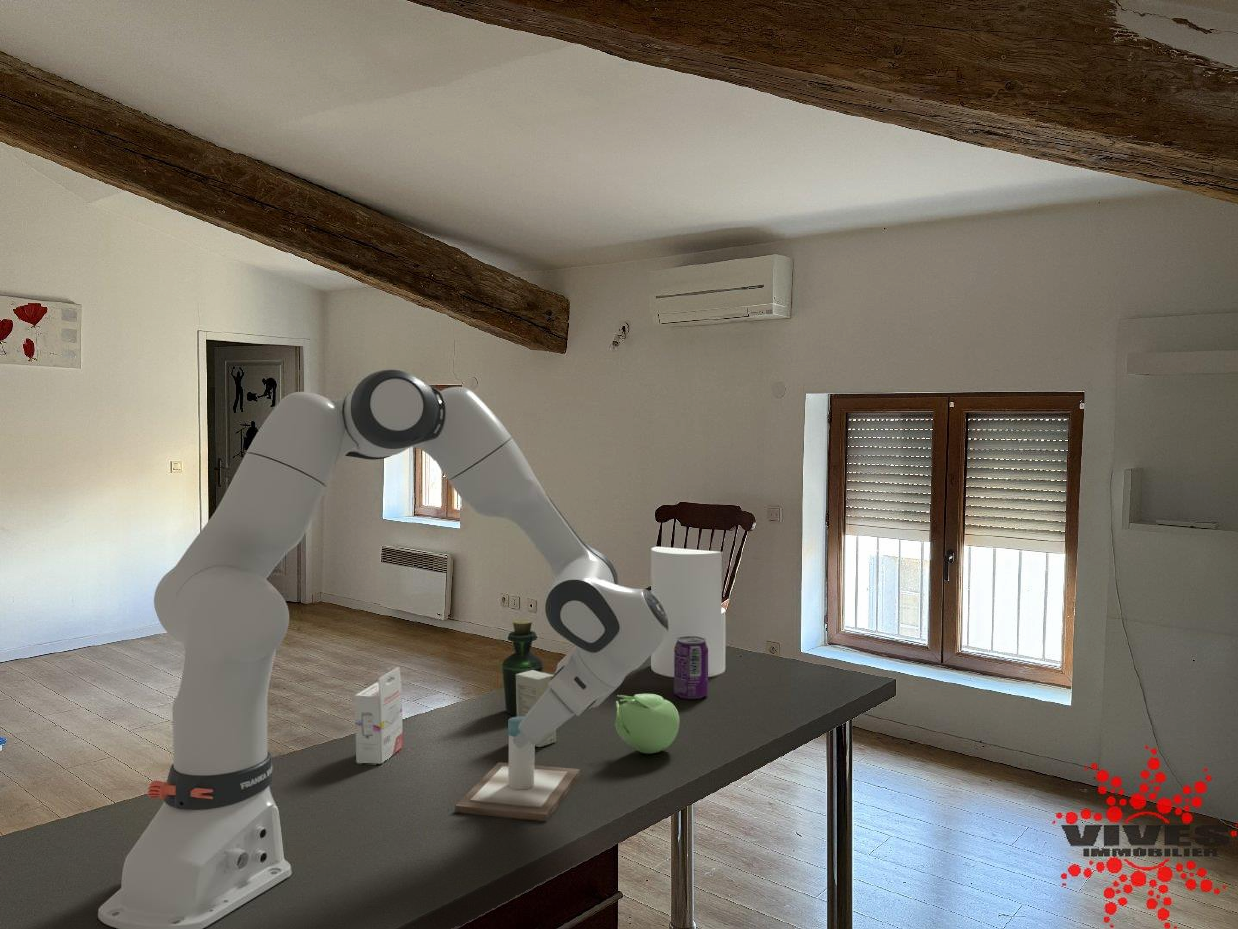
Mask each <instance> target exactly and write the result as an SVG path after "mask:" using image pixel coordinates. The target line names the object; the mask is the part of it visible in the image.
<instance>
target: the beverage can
mask: <svg viewBox="0 0 1238 929" xmlns="http://www.w3.org/2000/svg"><path fill="white" fill-rule="evenodd" d="M673 680H674V681H673V682H674V683H673V685H674V686H673V690H674V691H673V693H674V694H675V695H677V696H678V697H680V698H681V699H685V700H699V699H702V698H703V697H706V696H707V695H709V677H708V647H707V644H706V639H705V638H702V637H697V636H683V637H679V638H677V643H676V645H675V647H674V677H673Z"/></svg>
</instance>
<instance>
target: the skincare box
mask: <svg viewBox="0 0 1238 929" xmlns="http://www.w3.org/2000/svg"><path fill="white" fill-rule="evenodd" d="M554 675H555V674H551V673H548V672H539V671H535V670H531V671H527V672H523V673H519V674H516V705H517V716H516V717H519V716H526V715H527V713H528V712H529V711H530V710H531V709H532V707H533V706H534V705H535V704H536V702H537V701H538V700H539V699H540V698H541V696H542V695H543V694H544V693H545V691H546V690H547V689H548V688H549V685H548V683H549V682H550V681H551V679H552V678H553V676H554ZM555 742H557V729H555V730H554V731H553V732H552V733H550V734H549V735H548V736H546V737H545V738H544V739H542V740H541V741H539V742H538V743H536V744H535V747H538V748H541V747H544V746H548V745H550V744H554V743H555Z"/></svg>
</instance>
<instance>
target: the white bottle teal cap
mask: <svg viewBox="0 0 1238 929" xmlns="http://www.w3.org/2000/svg"><path fill="white" fill-rule="evenodd" d="M524 717H525V716H519V717H517V716H514V717H510V718H509V719H508V722H507V723H508V724H507V725H508V726H507V728H508V730H507V731H508V762H507V763H508V786H509V787H510V788H513V789H528V788H531V787H533V786H534V765H535V762H536V760H535V759H536V758H535V756H536V755H535V752H536V749H535V748H536V746H535V744H531V743H530V742H529V741H528V742H527V743H526V744H525V745H524V746H523V747H522V748H518V747H517V746H516V745H515V744H514V743H513V739H514V738H515V737H516V736H517V735H518V734H519V733H520V731H519V729H518V726H519V724H520V723H521V721H522V720H523V718H524Z"/></svg>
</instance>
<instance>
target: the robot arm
mask: <svg viewBox="0 0 1238 929" xmlns="http://www.w3.org/2000/svg"><path fill="white" fill-rule="evenodd" d="M251 441H252V442H250V443H251V444H250V445H249V447H248V449H247V451H246V453H245V454H244V457H243V458H242V460H241V462H240V464H239V466H238V468H237V470H236V472H235V474H234V476H233V478H232V480H231V482H230V484H229V485H228V488H227V489H226V490H225V493H224V495H223V497H222V498H221V501H220V502H219V504H218V506H217V508H216V509H215V511H214V513H212V516H211V517H210V518H209V520H208V521H207V522H206V524H205V525H204V527H203V528H202V529H201V530H200V532H199V533H198V534H197V535H196V537H195V538H194V539H193V541H192V542H191V543H190V545H189V547H188V548H187V549H186V551H185V552H184V553H183V555H182V557H180V560H179V561H178V562H177V563H176V565H175V566H174V567H173V568H172V569H170V570H169V571H168V572H167V573H165V575H164V576H162V578H161V579H160V580H159V582H158V584H157V587H156V588H155V591H154V596H153V607H154V611H155V613H156V616H157V618H158V620H159V623H160V625H161V626H162V629H164V630H165V631H166V633H168V634H169V635H170V636H171V637H172V638H174V639H176V640H178V641H179V642H181V643H182V645H183V649H184V663H183V670H182V676H181V679H180V686H179V690H178V692H177V695H176V697H175V698H174V700H173V703H172V709H171V710H172V714H171V715H172V748H173V749H172V752H173V753H172V756H173V757H172V758H173V759H172V760H173V763H172V764H171V765H170V768H169V772H168V775H167V777H166V781H160V780H153V781H151V783H149V785H148V786H149V787H148V788H147V796H148V797H149V798H150V799H161V800H163V804H162V805H161V807H160V808H159V810H158V811H157V812H156V814H155V815H154V817H153V818H152V820H150V823H149V824H148V825H147V827H146V829H145V830H144V831H143V832H142V834H141V836H140V837H139V839H138V840H137V842H136V843H135V845H134V846H133V847H132V849H131V850H130V851H129V853H128V854H127V855H126V857H125V860H124V863H123V867H122V875H121V886H120V888H119V890H117V891H116V892H114V894H113V895H112V896H110V897H109V898H108V899H107V900H106V901H105V902H104V903H103V904H101V905H100V906H99V908H98V910H97V918H98V919H99V921H100V922H102V923H103V924H105V925H107V926H109V927H112V928H116V929H204V928H207V927H208V926H210V925H211V924H213V923H215V922H217V921H218V920H220V919H222V918H223V917H225V916H226V915H228V914H230V913H231V912H233V911H235V910H236V909H237V908H240V907H241V906H242V905H244V904H246V903H247V902H249V901H251V900H252V899H254V898H256V897H258V896H259V895H261V894H262V893H264V892H266V891H268V890H269V889H271V888H272V887H274V886H276V885H277V884H279V883H281V882H282V881H284V880H285V879H286V880H287V878H289V877H290V876H291V875H292V866H291V864H290V863H289V862H288V860H286V859H285V856H284V855H285V854H284V847H283V846H284V845H283V838H282V837H283V836H282V829H281V821H280V812H279V807H278V806H277V804H276V802H275V800H274V797H273V795H272V792H271V788H270V785H271V783H272V781H273V768H274V767H273V763H272V754H271V752H270V751H269V750H268V694H269V687H270V682H271V681H270V680H271V676H272V670H273V665H274V662H275V657H276V654H277V648H279V646H280V645H281V644H282V642H283V640H284V639H285V638H286V635H287V632H288V629H289V625H290V612H289V606H288V604H287V602H286V600H285V598H284V597H283V595H282V594H281V593H280V591H278V590H277V588H276V587H274V585H273V584H272V583H271V582H269V581H268V580H267V578H268V577H269V576H270V575H271V573H272V572H273V570H274V569H275V568H276V567H277V566H278V565H279V563H280V562H281V561H282V559H283V558H284V557H285V556H286V555H288V553H289V552H290V551H291V550H293V549H294V548H295V547H297V546H298V545H299V543H300V542H301V541H302V540H303V539H304V538H303V537H304V536H305V534H306V531H307V529H308V527H309V526H310V523H311V521H312V519H313V516H314V514H315V513H316V510H317V508H318V507H319V504H320V503H321V502H320V501H321V500H322V498H323V496H324V494H325V493H326V492H325V491H326V489H327V487H328V485H329V483H330V480H331V478H332V476H333V474H334V471H335V470H336V468H337V466H338V465H339V463H340V462H341V461H342V459H343V458H344V457H352V458H357V459H363V460H370V461H371V460H373V461H374V460H375V461H377V460H383V459H387V458H389V457H392V456H395V455H399V454H401V453H402V452H404V451H406V450H408V449H410V448H413V449H414V448H415V449H419V450H421V451H423V452H424V453H426V454H427V455H428V456H429V457H430V458H431V459H432V460H433V461H435V462H436V464H437V465H438V467H439V468H440V470H441V472H442V473H443V474H444V476H445V478H446V480H448V482H449V483H450V485H451V487H452V488H453V489H454V491H455V492H456V493H457V495H458V496H459V497H460V498H461V500H463V501H464V502H465V503H466V504H467V505H468V506H469V507H470V508H471V510H473V511H474V512H475V513H477V514H479V515H481V516H484V517H488V518H500V519H505V520H508V521H510V522H512V523H514V524H515V525H517V526H518V527H519V528H520V530H522V531H523V532H524V534H525V535H526V537H527V538H528V539H529V540H530V541H531V543H532V544H533V546H534V547H535V548H536V549H537V550H538V552H539V553H540V555H541V556H542V557H543V558H544V560H545V561H546V563H547V564H548V566H549V567H550V571H551V576H552V584H551V587H550V589H549V591H548V594H547V596H546V597H547V598H546V600H545V607H544V610H545V616H546V619H547V622H548V623H549V625H550V626H551V627H552V629H553V630H554V631H555V632H556V633H557V634H558V635H560V636H562V638H564V639H566V640H567V641H568V642H570V643H572V644H573V645H575V646H574V647H573V648H572V649H571V650H570V651H569V652H568V653H567V654H566V655H565V656H563V658H561V660H560V661H559V662H558V663H557V664H556V665H557V666H556V670H555V672H554V674H553V675H554V676H553V678H552V679H551V681H550V682H549V683H548V685H549V688H548V689H547V690H546V691H545V693H544V694H543V695H542V696H541V698H540V699H539V700H538V701H537V702H536V704H535V705H534V706H533V707H532V709H531V710H530V711H529V712H528V713H527V715H526V716H525V717H524V718H523V720H522V721H521V723H520V724H519V726H518V729H519V731H520V733H519V734H518V735H517V736H516V737H515V738H514V739H513V743H514V744H515V745H516V746H517V747H518V748H522V747H523V746H524V745H525V744H526V743H527V742H528V741H529V742H530V743H531V744H536V743H538V742H539V741H541V740H542V739H544V738H545V737H546V736H548V735H549V734H550V733H552V732H553V731H554V730H555V729H556V730H557V729H558V728H559V727H561V726H562V725H564V724H565V723H566V722H567V721H568V720H570V719H571V718H572V717H574V716H575V715H576V716H577V717H578V716H580V715H582V714H583V713H584V712H585V711H587V710H590V709H592V708H597V707H599V706H600V705H601V704H602V703H603V702H604V701H605V700H606V699H607V698H608V697H609V696H611V695H612V694H613V692H615V691H616V690H617V688H619V687H620V686H621V685H622V683H623V681H624V680H625V678H626V676H628V675H629V674H630V673H631V672H632V671H635V670H637V669H639V668H640V667H641V666H642V665H643V664H644V663H645V662H646V661H647V659H649V658H651V655H652V653H653V652H654V651H655V650H656V649H657V648H658V647H659V646H660V644H661V643H662V642H663V640H664V639H665V638H666V636H667V634H668V628H669V625H668V618H667V615H666V613H665V611H664V609H663V607H662V605H661V604H660V602H659V601H658V600H657V598H656V597H655V596H654V595H653V594H652V593H651V591H649V590H647V589H646V588H633V587H629V586H628V587H627V586H623V585H621V584H620V585H619V578H618V573H617V569H616V568H615V566H614V564H613V563H612V562H611V561H610V560H609V558H607V557H606V556H605V554H602V553H601V552H600V551H597V550H596V549H594V548H592V547H591V546H590V545H589V544H587V543H586V542H584V541H583V540H582V539H581V537H580V536H579V535H578V534H577V532H576V531H575V530H574V529H573V528H572V526H571V524H570V523H569V522H568V521H567V519H566V518H565V517H564V515H563V513H561V511H560V510H559V509H558V508H557V506H556V505H555V504H554V502H553V500H551V498H550V497H549V495H548V494H547V492H545V490H544V488H543V487H542V484H541V483H540V482H539V480H538V479H537V477H536V475H535V473H534V472H533V469H532V467H531V465H530V464H529V462H528V461H527V459H526V457H525V455H524V454H523V452H522V450H521V449H520V448H519V446H518V444H517V443H516V441H515V440H514V438H513V437H512V435H511V434H510V433H509V431H508V430H507V428H506V427H505V426H504V425H503V423H502V422H501V421H500V419H499V418H498V417H497V416H496V415H495V413H494V412H493V411H492V410H491V409H490V408H489V406H488V405H486V403H485V402H484V401H483V400H482V399H481V398H480V397H479V396H478V395H477V394H476V393H475V392H474V391H472V390H471V389H469V388H467V387H464V386H453V387H448V388H447V387H446V388H445V389H442V390H439V389H438V388H436V387H434V386H431V385H429V384H428V383H426V382H423V381H422V380H421V379H419V378H418V377H416V376H414V375H413V374H411V373H409V372H405V371H402V370H398V369H382V370H379V371H374V372H373V373H370V374H368V375H367V376H365V378H363V379H361V381H360V382H359V383H358V384H356V385H355V386H353V387H352V389H350V390H349V392H348V393H346V394H345V395H344V396H343V397H342V398H339V399H331V398H327V397H325V396H323V395H320V394H318V393H313V392H311V391H309V392H308V391H296V392H292V393H289V394H288V395H286V396H283V398H281V400H279V402H278V403H277V405H275V407H274V408H273V410H272V411H271V412H270V414H269V415H268V416H267V417H266V419H265V420H264V422H263V424H262V425H261V427H260V428H259V430H258V431H257V433H256V434H255V436H254V437H253V439H252V440H251Z"/></svg>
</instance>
